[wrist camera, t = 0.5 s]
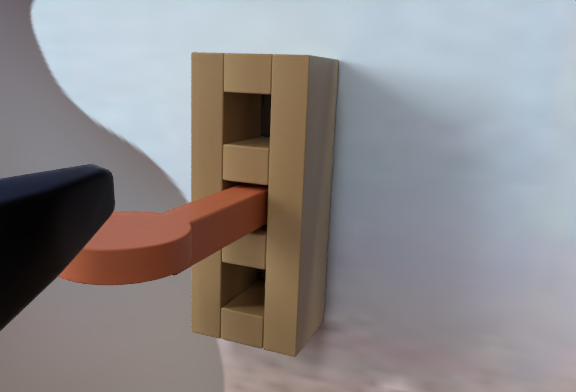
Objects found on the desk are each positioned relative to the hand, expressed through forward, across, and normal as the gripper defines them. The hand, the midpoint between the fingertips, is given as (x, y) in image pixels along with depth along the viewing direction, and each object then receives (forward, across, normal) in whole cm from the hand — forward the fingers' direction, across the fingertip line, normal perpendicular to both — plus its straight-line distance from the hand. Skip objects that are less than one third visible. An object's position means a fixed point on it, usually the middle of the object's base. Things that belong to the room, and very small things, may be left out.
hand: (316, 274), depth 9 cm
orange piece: (+14, +6, +8) cm, 17 cm away
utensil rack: (+14, +6, +8) cm, 17 cm away
